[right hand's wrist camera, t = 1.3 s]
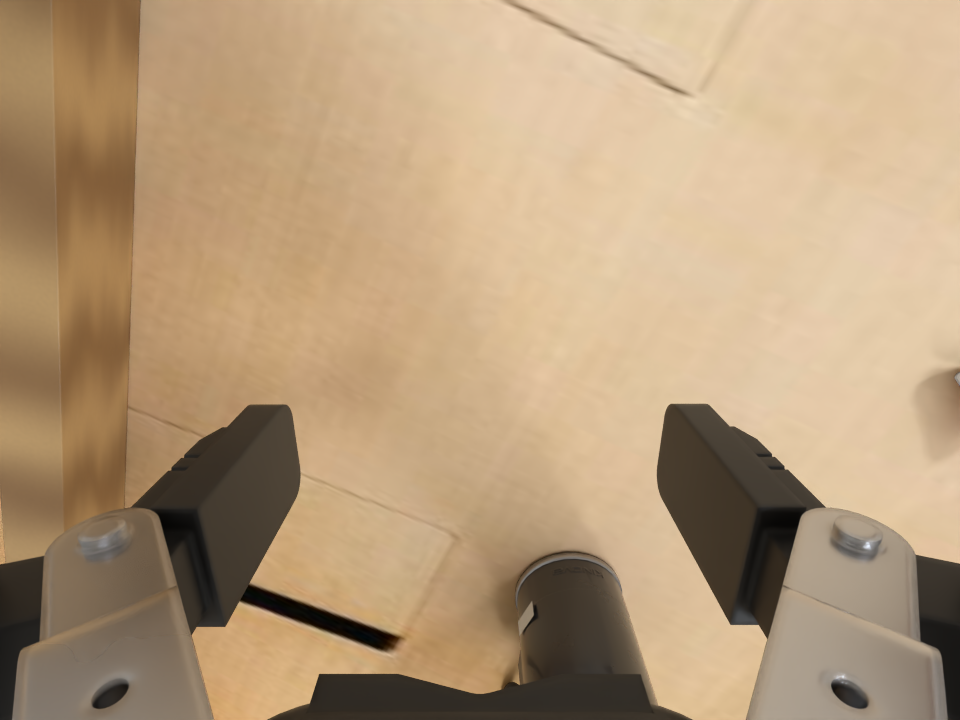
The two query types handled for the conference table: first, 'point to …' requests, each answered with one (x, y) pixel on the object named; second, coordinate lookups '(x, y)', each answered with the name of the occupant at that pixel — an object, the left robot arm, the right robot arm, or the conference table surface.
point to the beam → (64, 262)
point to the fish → (957, 378)
